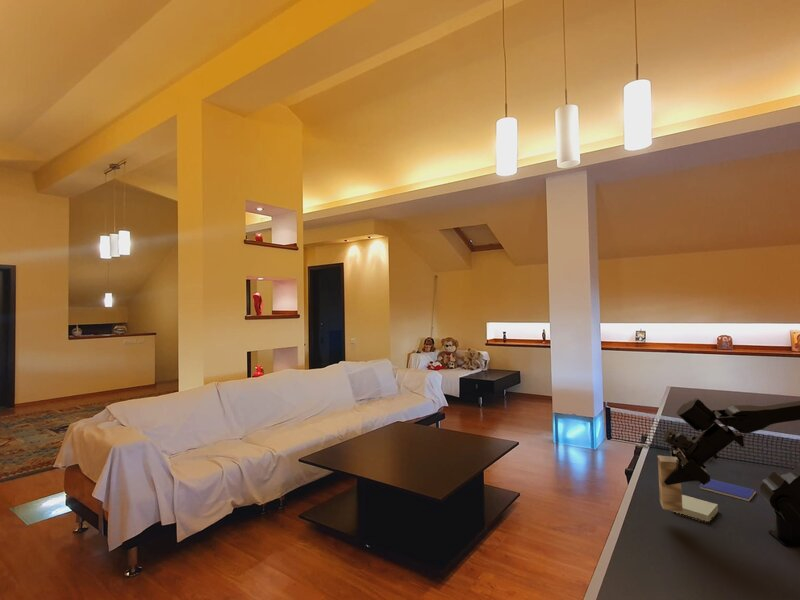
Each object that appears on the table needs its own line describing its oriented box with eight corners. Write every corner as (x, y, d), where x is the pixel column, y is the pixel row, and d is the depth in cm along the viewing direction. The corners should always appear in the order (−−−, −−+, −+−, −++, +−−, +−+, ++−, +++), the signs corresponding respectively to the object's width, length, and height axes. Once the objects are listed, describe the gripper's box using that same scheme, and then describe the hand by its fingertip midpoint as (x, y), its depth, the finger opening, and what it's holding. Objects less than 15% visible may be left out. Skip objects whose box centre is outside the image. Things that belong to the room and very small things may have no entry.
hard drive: (699, 485, 136) (748, 497, 126) (707, 477, 141) (755, 489, 131) (700, 490, 136) (749, 503, 126) (708, 482, 141) (755, 494, 131)
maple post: (678, 503, 117) (676, 456, 117) (682, 511, 113) (680, 462, 113) (659, 501, 118) (657, 455, 119) (663, 509, 114) (660, 461, 114)
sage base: (718, 513, 121) (717, 504, 121) (708, 524, 115) (707, 515, 115) (682, 502, 128) (681, 494, 128) (671, 513, 122) (670, 504, 122)
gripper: (675, 411, 123) (634, 446, 127) (692, 430, 106) (644, 469, 110) (709, 440, 120) (666, 475, 124) (732, 465, 102) (681, 504, 107)
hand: (663, 479), depth 116 cm, fingers closed on maple post, 4 cm apart
